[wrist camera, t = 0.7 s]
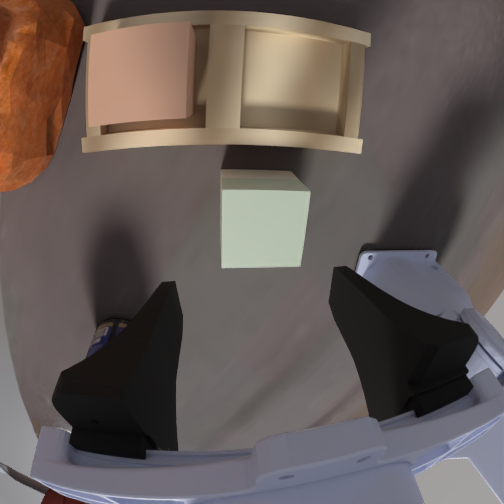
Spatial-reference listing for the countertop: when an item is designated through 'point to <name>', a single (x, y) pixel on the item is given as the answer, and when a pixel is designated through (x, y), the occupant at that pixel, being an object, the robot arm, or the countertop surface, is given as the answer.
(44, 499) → the plant pot
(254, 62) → the socket board
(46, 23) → the bread
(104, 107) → the terracotta brick
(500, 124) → the countertop surface
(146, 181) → the countertop surface
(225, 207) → the two tone brick
